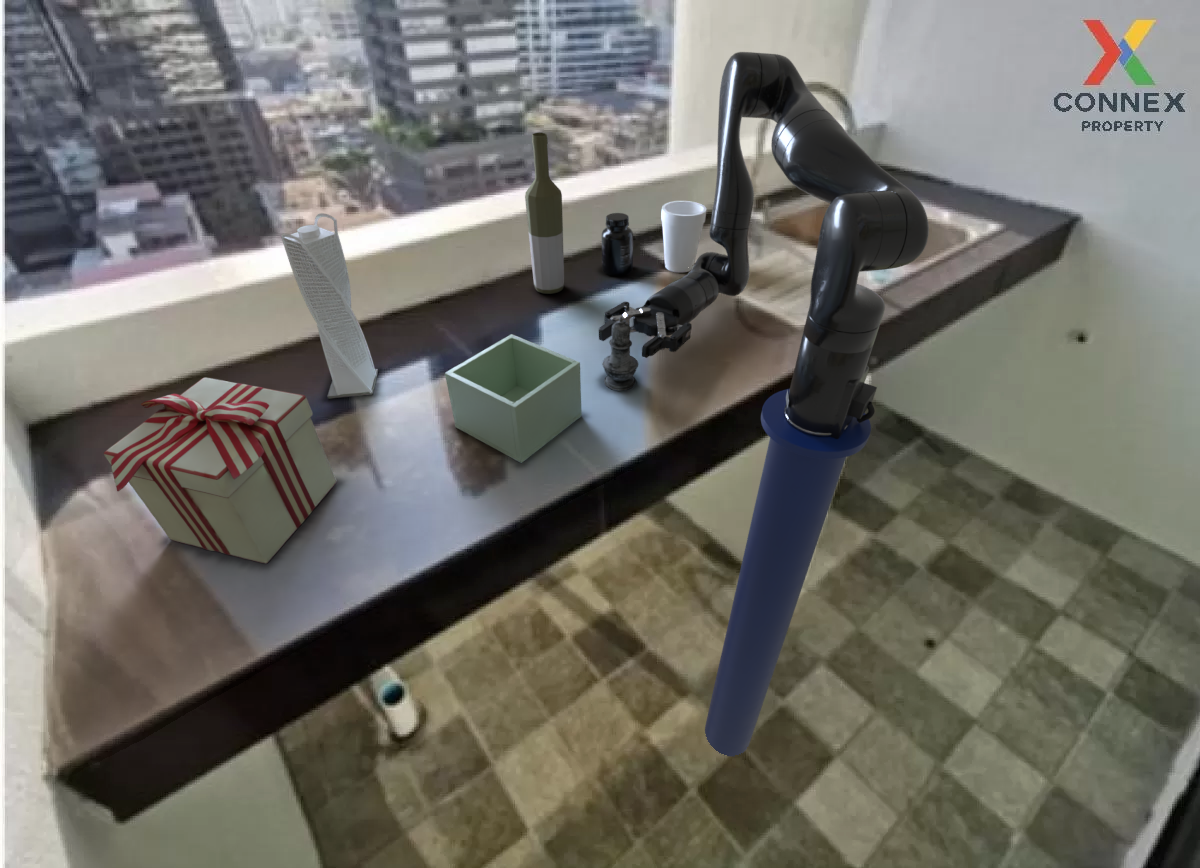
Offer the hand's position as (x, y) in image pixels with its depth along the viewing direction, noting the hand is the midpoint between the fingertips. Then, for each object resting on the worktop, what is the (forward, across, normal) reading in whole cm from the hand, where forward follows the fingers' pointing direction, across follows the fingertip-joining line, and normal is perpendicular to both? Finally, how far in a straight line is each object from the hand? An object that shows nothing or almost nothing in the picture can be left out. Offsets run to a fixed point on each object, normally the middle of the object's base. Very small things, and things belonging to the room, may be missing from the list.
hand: (621, 343), depth 96 cm
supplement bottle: (-35, -26, +7) cm, 44 cm away
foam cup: (-45, -16, +7) cm, 48 cm away
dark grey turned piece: (0, 0, +7) cm, 7 cm away
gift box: (+53, -19, +7) cm, 57 cm away
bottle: (-19, -32, +7) cm, 38 cm away
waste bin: (+18, -6, +7) cm, 21 cm away
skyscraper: (+28, -34, +7) cm, 44 cm away
